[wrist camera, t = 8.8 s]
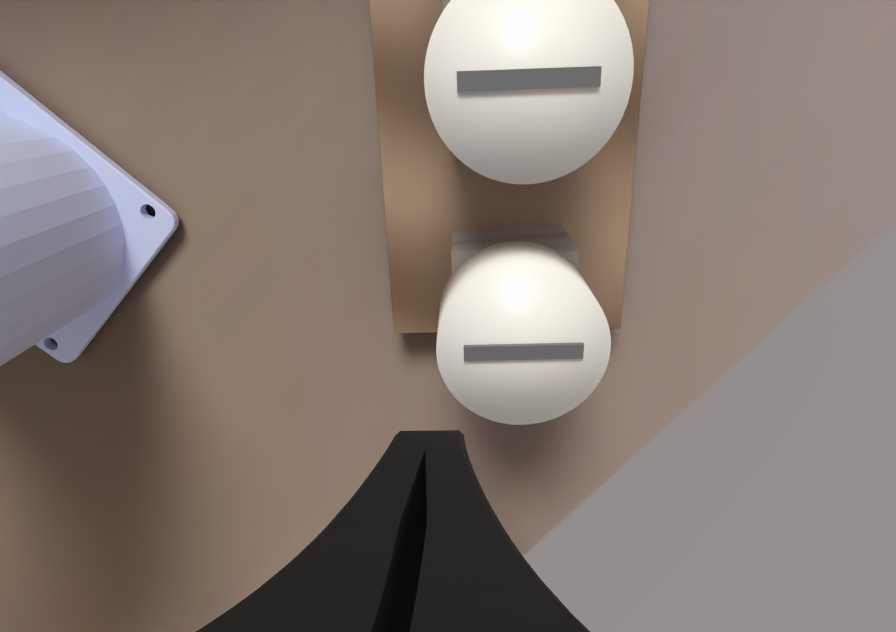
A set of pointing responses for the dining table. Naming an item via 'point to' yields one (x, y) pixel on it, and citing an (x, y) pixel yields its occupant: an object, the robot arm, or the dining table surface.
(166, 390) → the dining table surface
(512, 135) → the knob middle
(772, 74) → the dining table surface
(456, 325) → the knob outer
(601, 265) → the knob panel
